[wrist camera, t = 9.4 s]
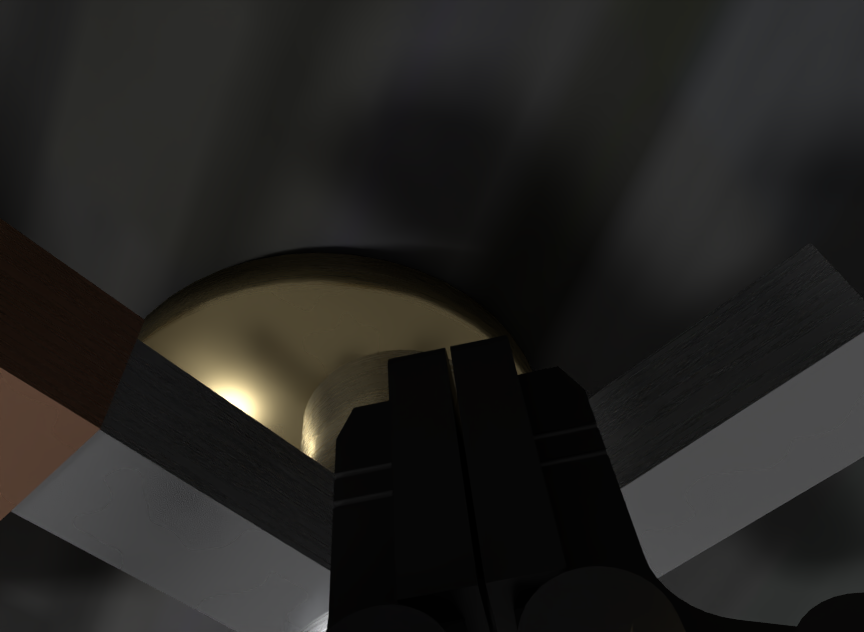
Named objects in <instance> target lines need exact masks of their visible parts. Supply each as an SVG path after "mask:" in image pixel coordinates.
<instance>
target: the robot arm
mask: <svg viewBox="0 0 864 632" xmlns="http://www.w3.org/2000/svg"><path fill="white" fill-rule="evenodd" d="M450 351H451V358H452V365H453V371H454V378H455V384H454V380H453V376H452V371H451V367H450V363H449V359H448V355H447V351H446V348H441V349H436V350H431V351H426V352H421V353H416V354H411V355H406V356H401V357H396V358H391V359H388V389H389V401H384V402H379V403H374V404H369V405H364V406H359V407H354V408H353V410H352V412H351V413H350V415H349V417H348V419H347V421H346V422H345V424H344V426H343V428H342V430H341V431H340V433H339V435H338V437H337V439H336V449H335V478H336V480H334V496H333V502H334V509H333V520H332V544H331V568H330V591H329V615H328V624H327V630H326V632H864V593H852V594H845V595H841V596H836V597H833V598H831V599H828V600H826V601H823V602H821V603H820V604H818V605H817V606H815V607H814V608H812V609H811V610H810V611H809V612H808V613H807V614H806V615H805V616H804V617H803V618H802V619H801V621H800V623H799V624H798V626H797V627H796V626H787V625H778V624H770V623H761V622H752V621H744V620H736V619H730V618H725V617H720V616H717V615H714V614H710V613H707V612H704V611H702V610H700V609H698V608H695V607H693V606H691V605H689V604H688V603H686V602H684V601H683V600H681V599H679V598H678V597H677V596H675V595H674V594H673V593H672V592H670V591H669V590H668V589H667V588H666V587H665V586H664V585H663V584H662V583H661V582H660V581H659V580H658V579H657V577H656V576H655V574H654V573H653V572H652V570H651V569H650V567H649V565H648V563H647V560H646V558H645V556H644V553H643V550H642V547H641V545H640V542H639V539H638V536H637V534H636V531H635V528H634V525H633V522H632V520H631V517H630V514H629V511H628V509H627V506H626V503H625V500H624V497H623V495H622V492H621V489H620V486H619V484H618V481H617V478H616V475H615V472H614V470H613V467H612V464H611V461H610V459H609V456H608V455H607V452H606V447H605V445H604V442H603V439H602V436H601V433H600V431H599V428H598V427H597V423H596V420H595V417H594V414H593V411H592V408H591V406H590V403H589V400H588V397H587V395H586V392H585V390H584V389H583V388H582V387H581V386H580V385H578V384H577V383H576V382H575V381H574V380H573V379H572V378H571V377H569V376H568V375H567V374H566V373H565V372H564V371H563V370H561V369H560V368H559V367H554V368H549V369H544V370H539V371H534V372H529V373H524V374H518V375H517V371H516V367H515V363H514V359H513V355H512V351H511V347H510V343H509V340H508V336H507V335H504V336H499V337H494V338H489V339H484V340H479V341H474V342H469V343H464V344H459V345H454V346H450ZM455 385H456V388H455ZM456 391H457V393H456Z"/></svg>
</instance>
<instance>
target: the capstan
mask: <svg viewBox="0 0 864 632" xmlns="http://www.w3.org/2000/svg"><path fill="white" fill-rule="evenodd" d="M504 335H507V336H508V340H509V343H510V347H511V351H512V355H513V359H514V363H515V367H516V371H517V375H518V374H524V373H529V372H533V371H532V369H531V367H530V365H529V363H528V361H527V359H526V357H525V355H524V353H523V351H522V350H521V349H520V347H519V346H518V344H517V343H516V341H515V340H514V339H513V337H512V336H511V334H510V333H509V332H508V331H507V330H506V329H505V328H504V327H503V326H502V325H501V323H500V322H499V321H498V320H497V319H496V318H495V317H494V316H493V315H492V314H491V313H490V312H488V311H487V310H486V309H485V308H483V307H482V306H481V305H479V304H478V303H477V302H476V301H474V300H473V299H472V298H471V297H469V296H468V295H466V294H464V293H463V292H461V291H459V290H457V289H456V288H454V287H452V286H451V285H449V284H447V283H446V282H444V281H442V280H439V279H437V278H435V277H432V276H430V275H428V274H425V273H423V272H421V271H418V270H416V269H413V268H410V267H406V266H403V265H400V264H396V263H393V262H389V261H386V260H381V259H375V258H369V257H364V256H358V255H352V254H334V253H304V254H286V255H280V256H275V257H269V258H263V259H257V260H252V261H249V262H246V263H242V264H239V265H236V266H232V267H229V268H226V269H223V270H220V271H218V272H216V273H213V274H211V275H209V276H207V277H204V278H202V279H200V280H198V281H195V282H194V283H192V284H190V285H189V286H187V287H185V288H184V289H182V290H180V291H179V292H177V293H176V294H174V295H172V296H171V297H169V298H168V299H167V300H165V301H164V302H163V303H162V304H161V305H159V306H158V307H157V308H156V309H155V310H153V311H152V312H151V313H150V314H149V315H147V317H146V318H145V319H143V318H141V317H140V316H138V315H137V314H135V313H134V312H133V311H131V310H130V309H128V308H127V307H125V306H124V305H123V304H121V303H120V302H118V301H117V300H116V299H114V298H113V297H111V296H110V295H108V294H107V293H106V292H104V291H103V290H101V289H100V288H98V287H97V286H96V285H94V284H93V283H91V282H90V281H88V280H87V279H86V278H84V277H83V276H81V275H80V274H78V273H77V272H76V271H74V270H73V269H71V268H70V267H68V266H67V265H66V264H64V263H63V262H61V261H60V260H58V259H57V258H56V257H54V256H53V255H51V254H50V253H49V252H47V251H46V250H44V249H43V248H41V247H40V246H39V245H37V244H36V243H34V242H33V241H31V240H30V239H29V238H27V237H26V236H24V235H23V234H21V233H20V232H19V231H17V230H16V229H14V228H13V227H11V226H10V225H9V224H7V223H6V222H4V221H3V220H1V219H0V521H1V520H2V519H3V518H4V517H5V516H6V515H7V514H8V513H9V512H10V511H11V512H13V513H15V514H17V515H18V516H20V517H22V518H24V519H26V520H28V521H30V522H32V523H33V524H35V525H37V526H39V527H41V528H43V529H45V530H47V531H48V532H50V533H52V534H54V535H56V536H58V537H60V538H62V539H63V540H65V541H67V542H69V543H71V544H73V545H75V546H77V547H78V548H80V549H82V550H84V551H86V552H88V553H90V554H92V555H93V556H95V557H97V558H99V559H101V560H103V561H105V562H107V563H108V564H110V565H112V566H114V567H116V568H118V569H120V570H122V571H124V572H125V573H127V574H129V575H131V576H133V577H135V578H137V579H139V580H140V581H142V582H144V583H146V584H148V585H150V586H152V587H154V588H155V589H157V590H159V591H161V592H163V593H165V594H167V595H169V596H170V597H172V598H174V599H176V600H178V601H180V602H182V603H184V604H185V605H187V606H189V607H191V608H193V609H195V610H197V611H199V612H200V613H202V614H204V615H206V616H208V617H210V618H212V619H214V620H215V621H217V622H219V623H221V624H223V625H225V626H227V627H229V628H231V629H232V630H234V631H236V632H326V630H327V624H328V615H329V591H330V568H331V544H332V520H333V509H334V502H333V496H334V480H336V478H335V449H336V439H337V437H338V435H339V433H340V431H341V430H342V428H343V426H344V424H345V422H346V421H347V419H348V417H349V415H350V413H351V412H352V410H353V408H354V407H359V406H364V405H369V404H374V403H379V402H384V401H389V389H388V359H391V358H396V357H401V356H406V355H411V354H416V353H421V352H426V351H431V350H436V349H441V348H446V351H447V355H448V359H449V363H450V367H451V371H452V376H453V380H454V384H455V378H454V371H453V365H452V358H451V351H450V346H454V345H459V344H464V343H469V342H474V341H479V340H484V339H489V338H494V337H499V336H504ZM455 388H456V385H455ZM456 393H457V391H456ZM588 400H589V403H590V406H591V408H592V411H593V414H594V417H595V420H596V423H597V427H598V428H599V431H600V433H601V436H602V439H603V442H604V445H605V447H606V452H607V455H608V456H609V459H610V461H611V464H612V467H613V470H614V472H615V475H616V478H617V481H618V484H619V486H620V489H621V492H622V495H623V497H624V500H625V503H626V506H627V509H628V511H629V514H630V517H631V520H632V522H633V525H634V528H635V531H636V534H637V536H638V539H639V542H640V545H641V547H642V550H643V553H644V556H645V558H646V560H647V563H648V565H649V567H650V569H651V570H652V572H653V573H654V574H655V576H656V577H657V578H659V577H661V576H662V575H664V574H666V573H667V572H669V571H671V570H672V569H674V568H676V567H677V566H679V565H681V564H683V563H684V562H686V561H688V560H689V559H691V558H693V557H694V556H696V555H698V554H699V553H701V552H703V551H705V550H706V549H708V548H710V547H711V546H713V545H715V544H716V543H718V542H720V541H722V540H723V539H725V538H727V537H728V536H730V535H732V534H733V533H735V532H737V531H738V530H740V529H742V528H744V527H745V526H747V525H749V524H750V523H752V522H754V521H755V520H757V519H759V518H761V517H762V516H764V515H766V514H767V513H769V512H771V511H772V510H774V509H776V508H777V507H779V506H781V505H783V504H784V503H786V502H788V501H789V500H791V499H793V498H794V497H796V496H798V495H799V494H801V493H803V492H805V491H806V490H808V489H810V488H811V487H813V486H815V485H816V484H818V483H820V482H822V481H823V480H825V479H827V478H828V477H830V476H832V475H833V474H835V473H837V472H838V471H840V470H842V469H844V468H845V467H847V466H849V465H850V464H852V463H854V462H855V461H857V460H859V459H860V458H862V457H864V299H863V298H862V297H861V296H860V295H859V294H858V293H857V292H856V291H855V290H854V289H853V288H852V286H851V285H850V284H849V283H848V282H847V281H846V280H845V279H844V278H843V277H842V276H841V275H840V274H839V273H838V272H837V270H836V269H835V268H834V267H833V266H832V265H831V264H830V263H829V262H828V261H827V260H826V259H825V258H824V257H823V255H822V254H821V253H820V252H819V251H818V250H817V249H816V248H815V247H814V246H813V245H812V244H811V243H809V244H808V245H806V246H805V247H803V248H802V249H801V250H799V251H798V252H796V253H795V254H794V255H792V256H791V257H789V258H788V259H786V260H785V261H784V262H782V263H781V264H779V265H778V266H776V267H775V268H774V269H772V270H771V271H769V272H768V273H767V274H765V275H764V276H762V277H761V278H759V279H758V280H757V281H755V282H754V283H752V284H751V285H749V286H748V287H747V288H745V289H744V290H742V291H741V292H740V293H738V294H737V295H735V296H734V297H732V298H731V299H730V300H728V301H727V302H725V303H724V304H722V305H721V306H720V307H718V308H717V309H715V310H714V311H713V312H711V313H710V314H708V315H707V316H705V317H704V318H703V319H701V320H700V321H698V322H697V323H695V324H694V325H693V326H691V327H690V328H688V329H687V330H686V331H684V332H683V333H681V334H680V335H678V336H677V337H676V338H674V339H673V340H671V341H670V342H668V343H667V344H666V345H664V346H663V347H661V348H660V349H659V350H657V351H656V352H654V353H653V354H651V355H650V356H649V357H647V358H646V359H644V360H643V361H641V362H640V363H639V364H637V365H636V366H634V367H633V368H631V369H630V370H629V371H627V372H626V373H624V374H623V375H622V376H620V377H619V378H617V379H616V380H614V381H613V382H612V383H610V384H609V385H607V386H606V387H604V388H603V389H602V390H600V391H599V392H597V393H596V394H595V395H593V396H592V397H590V398H589V399H588Z"/></svg>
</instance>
